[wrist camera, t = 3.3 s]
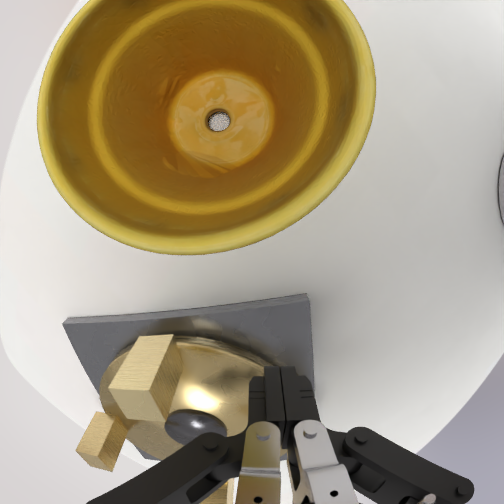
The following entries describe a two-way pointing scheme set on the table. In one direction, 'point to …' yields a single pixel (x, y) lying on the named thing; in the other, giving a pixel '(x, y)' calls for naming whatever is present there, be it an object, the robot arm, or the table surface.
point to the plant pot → (204, 117)
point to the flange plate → (203, 334)
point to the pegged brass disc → (171, 399)
